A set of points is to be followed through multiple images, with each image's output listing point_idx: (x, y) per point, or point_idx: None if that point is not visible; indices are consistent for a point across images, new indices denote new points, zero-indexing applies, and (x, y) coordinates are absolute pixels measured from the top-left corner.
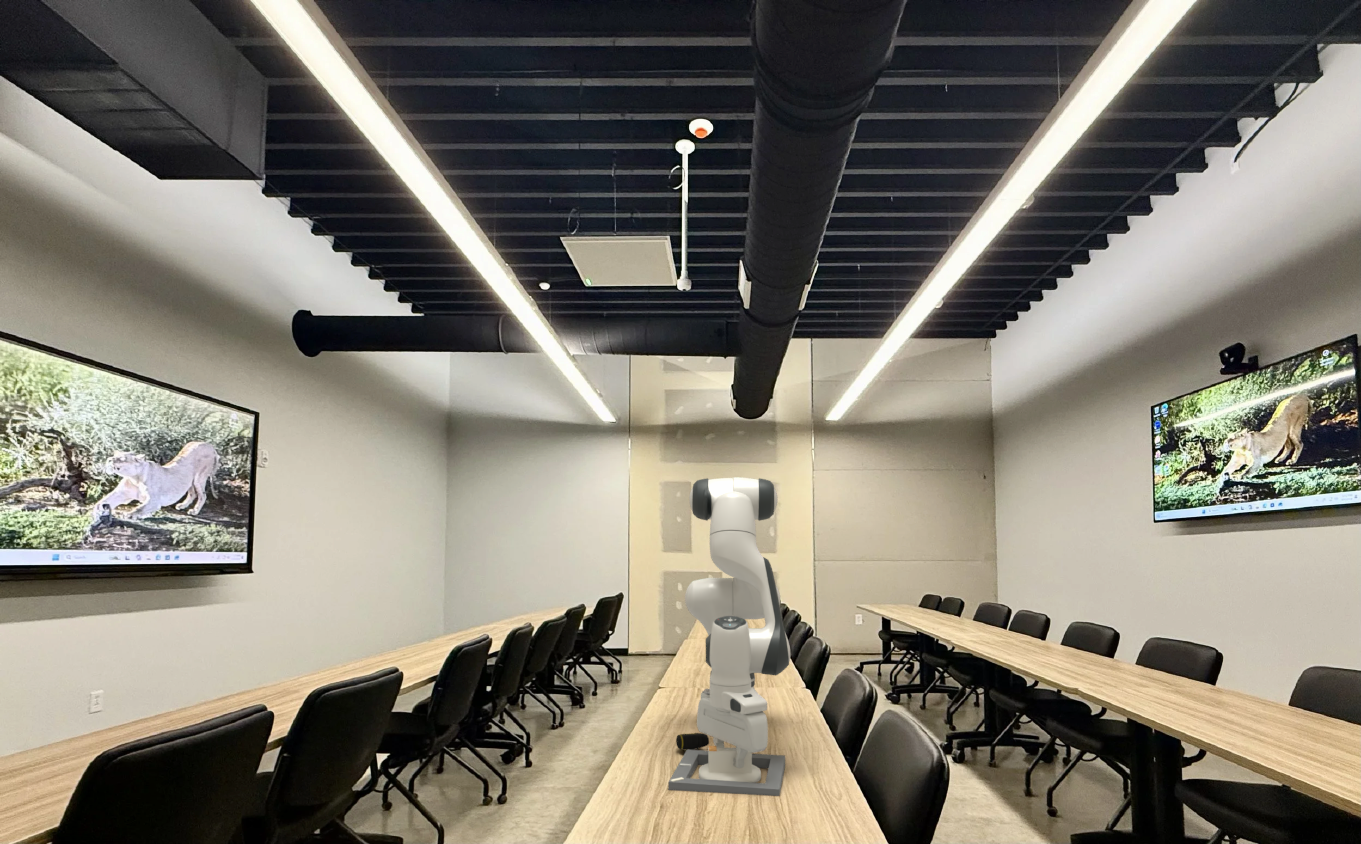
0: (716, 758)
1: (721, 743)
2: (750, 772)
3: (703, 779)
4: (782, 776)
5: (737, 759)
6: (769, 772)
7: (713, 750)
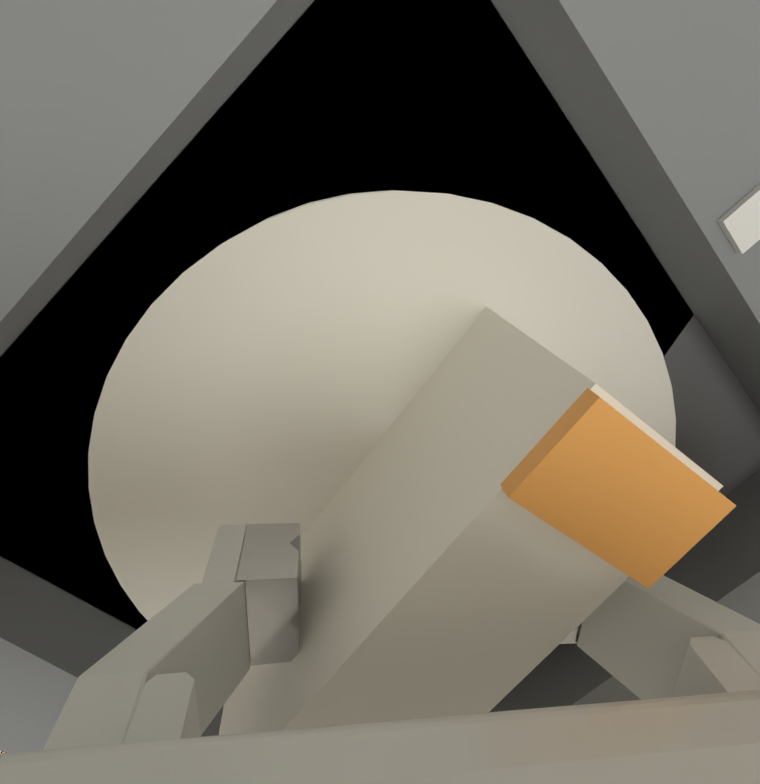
0: (474, 432)
1: (669, 688)
2: None
3: (250, 14)
4: None
5: (195, 584)
6: None
7: (541, 450)
